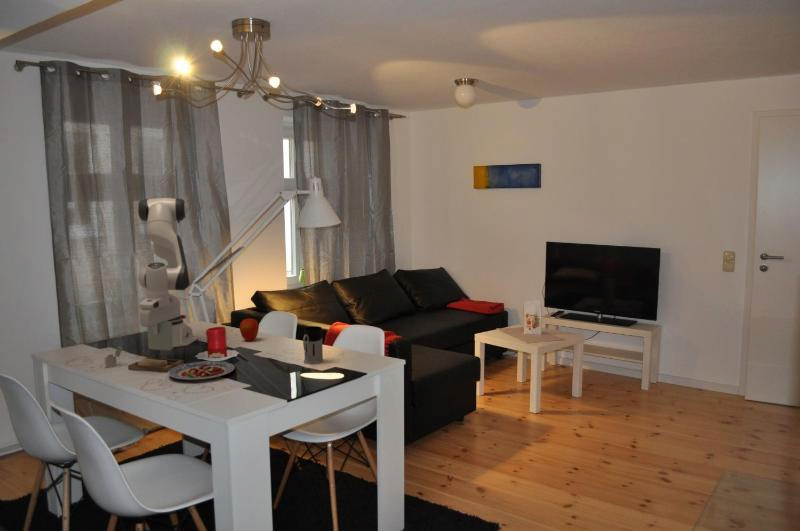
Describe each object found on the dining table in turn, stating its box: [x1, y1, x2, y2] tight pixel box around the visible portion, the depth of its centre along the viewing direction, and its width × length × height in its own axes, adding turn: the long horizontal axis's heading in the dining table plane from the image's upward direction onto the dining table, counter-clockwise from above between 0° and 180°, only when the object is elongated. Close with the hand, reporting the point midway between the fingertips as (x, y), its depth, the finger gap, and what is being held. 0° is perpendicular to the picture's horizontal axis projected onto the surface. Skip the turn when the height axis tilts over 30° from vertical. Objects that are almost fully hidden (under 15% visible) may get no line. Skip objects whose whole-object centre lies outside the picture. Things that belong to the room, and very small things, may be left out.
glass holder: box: [302, 325, 325, 365], centre depth 270 cm, size 9×14×15 cm, turn 164°
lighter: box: [104, 346, 123, 369], centre depth 269 cm, size 7×2×8 cm, turn 137°
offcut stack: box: [136, 358, 168, 367], centre depth 264 cm, size 5×12×4 cm, turn 78°
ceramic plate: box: [167, 360, 235, 381], centre depth 256 cm, size 26×26×3 cm
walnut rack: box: [127, 357, 185, 373], centre depth 267 cm, size 13×18×2 cm
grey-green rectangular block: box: [146, 321, 174, 351], centre depth 269 cm, size 3×10×12 cm, turn 75°
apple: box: [239, 318, 260, 342], centre depth 313 cm, size 9×9×12 cm
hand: (159, 332), depth 269 cm, fingers closed on grey-green rectangular block, 3 cm apart
